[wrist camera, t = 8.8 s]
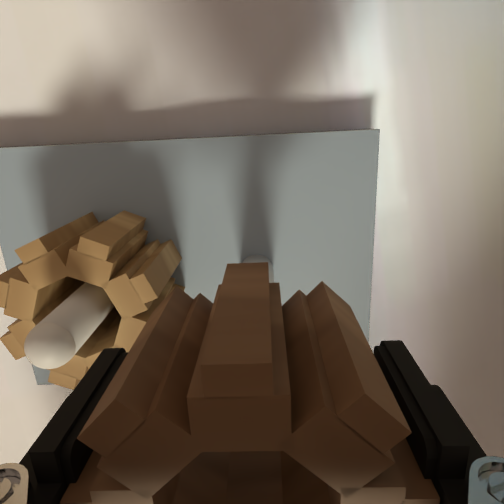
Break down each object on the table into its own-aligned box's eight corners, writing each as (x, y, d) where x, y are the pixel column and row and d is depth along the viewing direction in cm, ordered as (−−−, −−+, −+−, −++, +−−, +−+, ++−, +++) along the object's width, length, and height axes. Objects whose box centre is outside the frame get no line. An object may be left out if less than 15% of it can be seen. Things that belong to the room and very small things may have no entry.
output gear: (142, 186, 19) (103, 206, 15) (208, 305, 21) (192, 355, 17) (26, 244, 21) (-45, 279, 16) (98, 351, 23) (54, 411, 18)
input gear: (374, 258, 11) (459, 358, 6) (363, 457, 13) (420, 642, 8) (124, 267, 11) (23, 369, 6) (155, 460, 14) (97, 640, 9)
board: (371, 128, 20) (461, 130, 11) (360, 362, 24) (418, 501, 15) (-5, 147, 20) (-213, 163, 12) (50, 369, 25) (-70, 506, 16)
